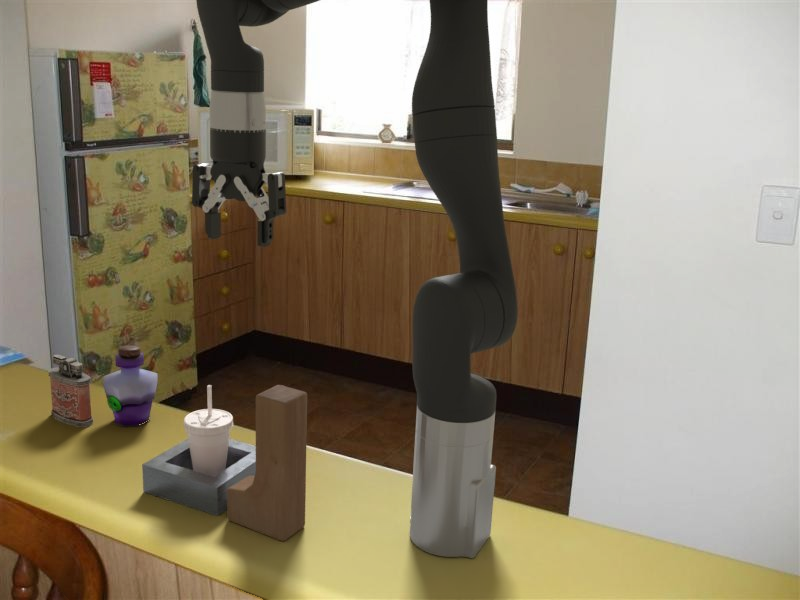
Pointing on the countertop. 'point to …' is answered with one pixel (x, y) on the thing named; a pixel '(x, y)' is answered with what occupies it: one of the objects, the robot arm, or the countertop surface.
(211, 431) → the smoothie
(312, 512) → the countertop surface
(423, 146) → the robot arm
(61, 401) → the lighter
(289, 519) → the wooden block
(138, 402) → the potion bottle
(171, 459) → the frame
